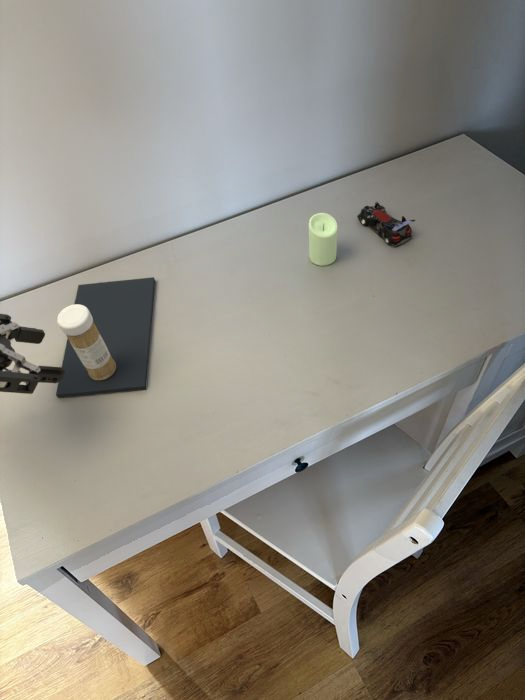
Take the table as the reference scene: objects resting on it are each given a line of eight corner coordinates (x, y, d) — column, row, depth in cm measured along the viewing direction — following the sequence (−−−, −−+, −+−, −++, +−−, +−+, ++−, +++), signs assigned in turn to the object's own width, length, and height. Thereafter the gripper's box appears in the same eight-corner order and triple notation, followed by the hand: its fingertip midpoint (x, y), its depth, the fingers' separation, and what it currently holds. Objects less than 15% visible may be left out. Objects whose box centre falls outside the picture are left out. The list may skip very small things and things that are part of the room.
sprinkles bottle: (109, 354, 87) (80, 298, 77) (121, 371, 85) (94, 316, 74) (83, 368, 86) (51, 313, 75) (96, 387, 84) (63, 332, 73)
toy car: (391, 250, 98) (393, 233, 95) (349, 217, 105) (351, 200, 102) (416, 237, 100) (419, 219, 97) (373, 205, 107) (375, 188, 103)
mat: (146, 389, 84) (144, 386, 83) (58, 398, 84) (55, 394, 83) (155, 280, 98) (154, 277, 98) (80, 288, 99) (78, 284, 98)
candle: (341, 259, 98) (343, 224, 92) (318, 269, 97) (318, 234, 90) (326, 244, 101) (327, 208, 94) (304, 254, 100) (303, 218, 93)
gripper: (-50, 358, 60) (80, 368, 72) (-76, 285, 68) (46, 305, 80) (-71, 407, 63) (58, 408, 75) (-94, 331, 70) (27, 344, 83)
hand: (52, 355), depth 78 cm, fingers open, 8 cm apart
